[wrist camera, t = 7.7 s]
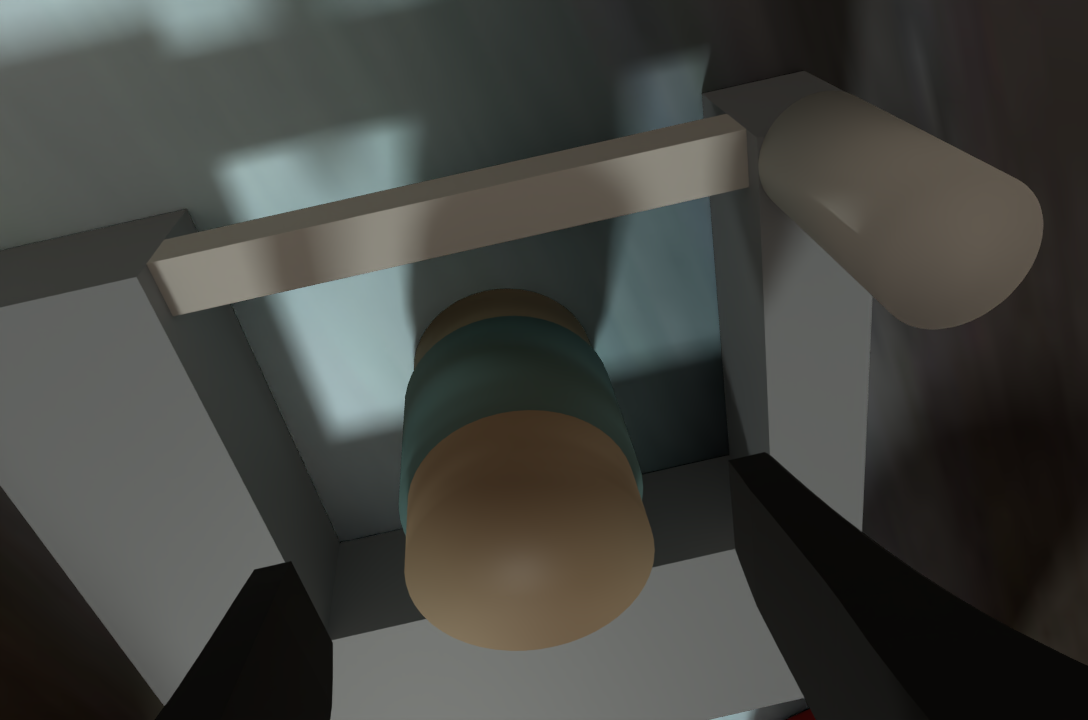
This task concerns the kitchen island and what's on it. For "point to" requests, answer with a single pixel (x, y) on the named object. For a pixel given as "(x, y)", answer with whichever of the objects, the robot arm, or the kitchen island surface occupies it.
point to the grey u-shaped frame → (450, 227)
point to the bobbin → (518, 478)
